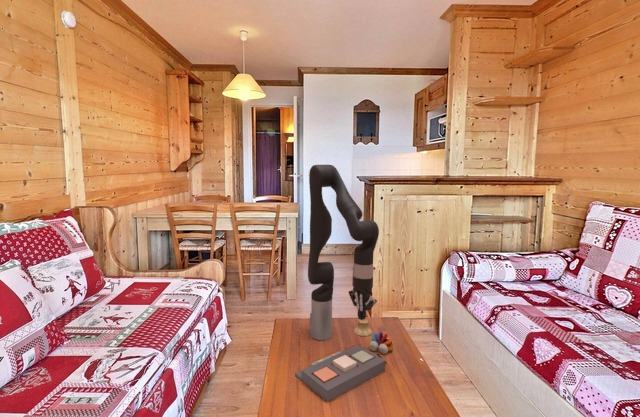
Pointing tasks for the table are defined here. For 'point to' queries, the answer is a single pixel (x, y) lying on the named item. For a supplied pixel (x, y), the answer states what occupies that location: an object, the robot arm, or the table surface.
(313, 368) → the keypad
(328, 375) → the key terracotta
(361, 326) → the hand bell
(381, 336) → the rainbow petal flower toy
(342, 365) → the key cream
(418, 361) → the table surface
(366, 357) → the key sage
